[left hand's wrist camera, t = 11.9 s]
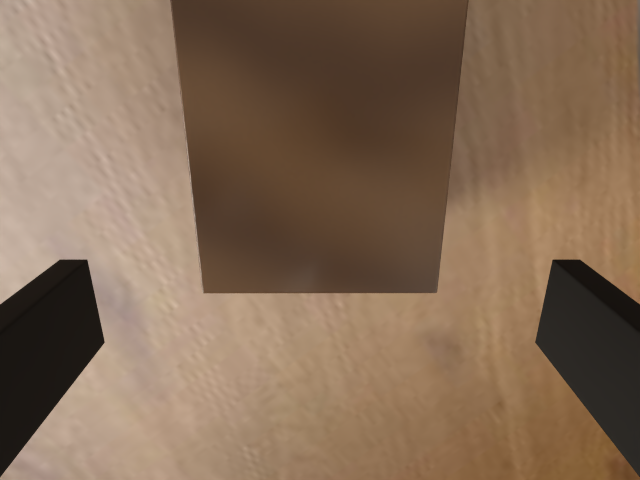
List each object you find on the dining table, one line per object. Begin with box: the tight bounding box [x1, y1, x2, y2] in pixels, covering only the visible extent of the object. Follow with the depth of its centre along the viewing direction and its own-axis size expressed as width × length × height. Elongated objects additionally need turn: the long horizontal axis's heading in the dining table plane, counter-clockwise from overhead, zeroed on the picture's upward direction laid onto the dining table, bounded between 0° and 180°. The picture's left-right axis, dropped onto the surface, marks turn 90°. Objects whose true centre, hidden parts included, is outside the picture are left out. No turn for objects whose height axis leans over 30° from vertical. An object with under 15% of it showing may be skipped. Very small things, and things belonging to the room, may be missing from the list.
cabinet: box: [170, 0, 468, 293], centre depth 21 cm, size 21×11×10 cm, turn 0°
